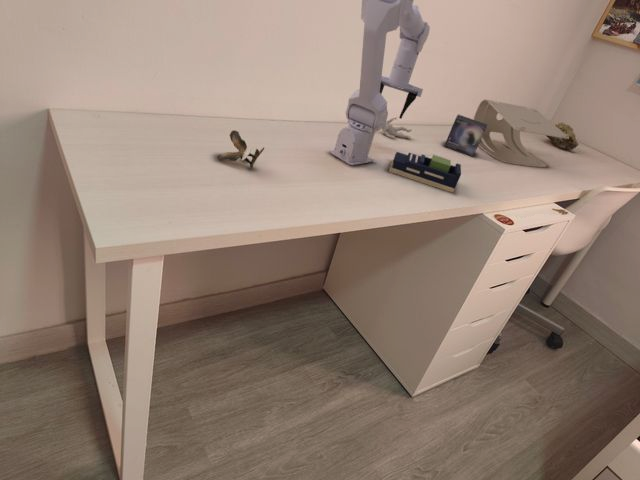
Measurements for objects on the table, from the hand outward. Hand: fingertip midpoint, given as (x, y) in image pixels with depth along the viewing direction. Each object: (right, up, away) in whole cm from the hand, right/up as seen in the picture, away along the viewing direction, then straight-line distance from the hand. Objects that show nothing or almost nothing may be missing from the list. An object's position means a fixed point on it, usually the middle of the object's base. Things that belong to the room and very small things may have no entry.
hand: (388, 113), depth 132 cm
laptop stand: (+50, -4, +37) cm, 63 cm away
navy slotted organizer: (+8, -20, -7) cm, 22 cm away
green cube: (+12, -20, -8) cm, 24 cm away
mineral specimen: (+86, +5, +68) cm, 110 cm away
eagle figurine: (-39, -19, -29) cm, 52 cm away
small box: (+28, -6, +24) cm, 38 cm away
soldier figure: (+4, -2, +20) cm, 20 cm away
